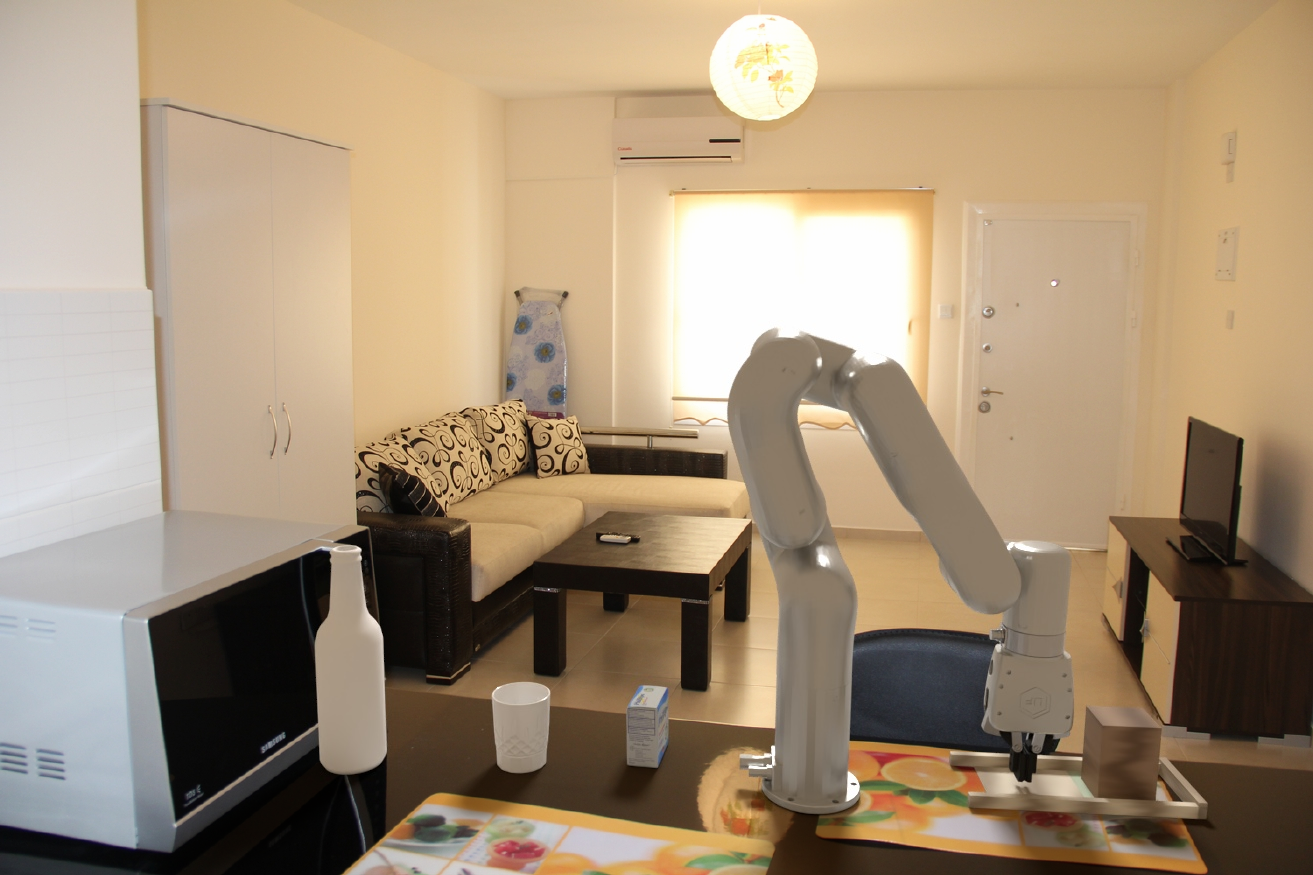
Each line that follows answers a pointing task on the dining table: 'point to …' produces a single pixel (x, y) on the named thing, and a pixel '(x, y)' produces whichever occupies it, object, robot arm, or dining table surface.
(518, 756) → the white cup
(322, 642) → the alcohol
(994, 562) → the robot arm
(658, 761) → the medicine box
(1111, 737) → the walnut block
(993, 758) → the channel board
